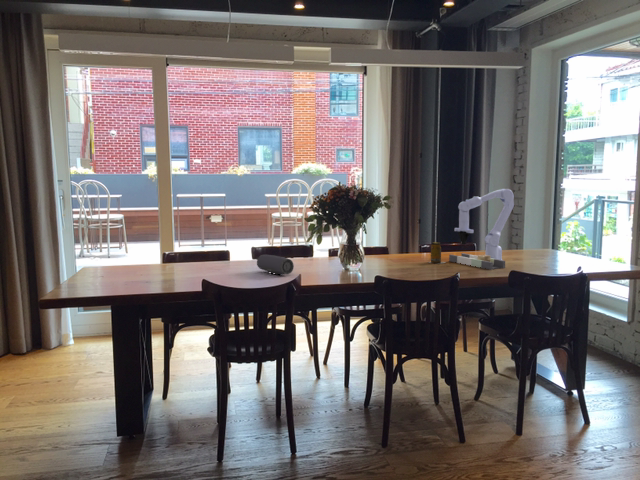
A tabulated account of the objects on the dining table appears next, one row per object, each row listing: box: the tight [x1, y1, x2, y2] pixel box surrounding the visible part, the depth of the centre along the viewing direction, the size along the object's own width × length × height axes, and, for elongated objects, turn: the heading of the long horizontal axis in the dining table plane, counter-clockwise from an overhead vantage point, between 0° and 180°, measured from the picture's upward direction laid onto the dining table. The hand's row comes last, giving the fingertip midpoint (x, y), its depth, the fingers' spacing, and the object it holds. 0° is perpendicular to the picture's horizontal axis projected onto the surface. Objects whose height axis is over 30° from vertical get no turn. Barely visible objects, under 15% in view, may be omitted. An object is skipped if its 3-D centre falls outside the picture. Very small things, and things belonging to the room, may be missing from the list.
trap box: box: [448, 252, 506, 271], centre depth 315 cm, size 11×34×4 cm, turn 27°
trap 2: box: [492, 266, 504, 270], centre depth 304 cm, size 8×7×1 cm
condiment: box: [428, 241, 447, 265], centre depth 323 cm, size 7×8×12 cm
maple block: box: [477, 254, 491, 262], centre depth 309 cm, size 5×5×4 cm
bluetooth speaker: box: [256, 254, 294, 275], centre depth 295 cm, size 23×9×10 cm, turn 42°
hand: (463, 244), depth 327 cm, fingers closed
